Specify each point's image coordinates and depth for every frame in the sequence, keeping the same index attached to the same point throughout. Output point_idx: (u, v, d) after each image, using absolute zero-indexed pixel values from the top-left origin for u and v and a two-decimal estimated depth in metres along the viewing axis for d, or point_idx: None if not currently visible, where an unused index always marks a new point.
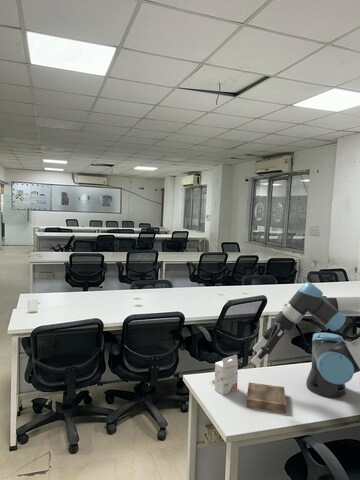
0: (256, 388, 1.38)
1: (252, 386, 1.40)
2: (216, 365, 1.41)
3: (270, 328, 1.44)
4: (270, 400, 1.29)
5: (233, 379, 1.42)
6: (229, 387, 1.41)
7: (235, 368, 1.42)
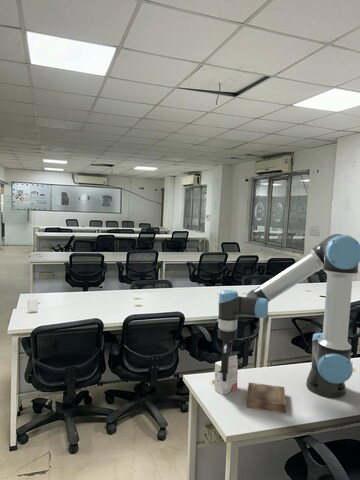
0: (256, 388, 1.38)
1: (252, 386, 1.40)
2: (216, 365, 1.41)
3: None
4: (270, 400, 1.29)
5: (233, 379, 1.42)
6: (229, 387, 1.41)
7: (235, 368, 1.42)
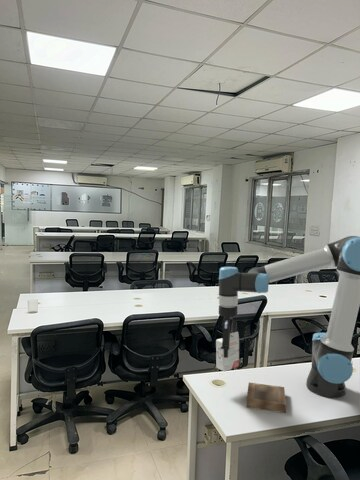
0: (256, 388, 1.38)
1: (252, 386, 1.40)
2: (217, 342, 1.40)
3: None
4: (270, 400, 1.29)
5: (235, 356, 1.41)
6: (231, 363, 1.40)
7: (236, 345, 1.41)
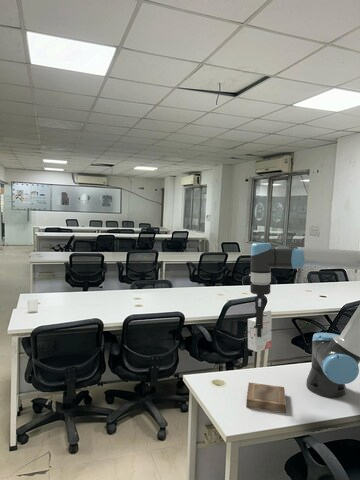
0: (256, 388, 1.38)
1: (252, 386, 1.40)
2: (249, 321, 1.34)
3: None
4: (270, 400, 1.29)
5: (267, 336, 1.35)
6: (263, 344, 1.33)
7: (269, 325, 1.35)
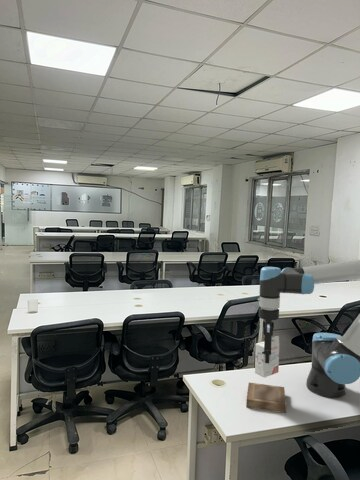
0: (256, 388, 1.38)
1: (252, 386, 1.40)
2: (257, 346, 1.33)
3: None
4: (270, 400, 1.29)
5: (275, 361, 1.33)
6: (271, 369, 1.32)
7: (276, 350, 1.34)
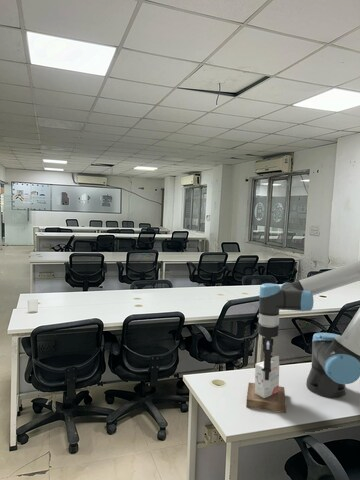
0: None
1: (252, 386, 1.40)
2: (257, 366, 1.33)
3: None
4: (270, 400, 1.29)
5: (275, 381, 1.33)
6: (271, 389, 1.32)
7: (276, 370, 1.34)
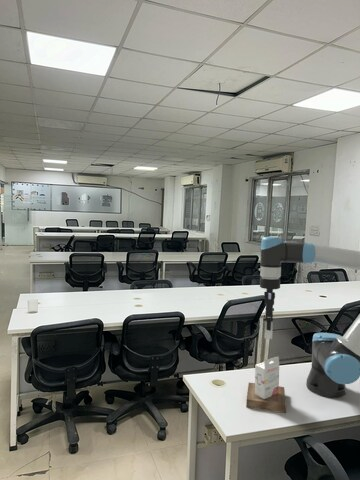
0: None
1: (252, 386, 1.40)
2: (257, 367, 1.32)
3: None
4: (270, 400, 1.29)
5: (275, 382, 1.33)
6: (271, 390, 1.32)
7: (276, 371, 1.33)
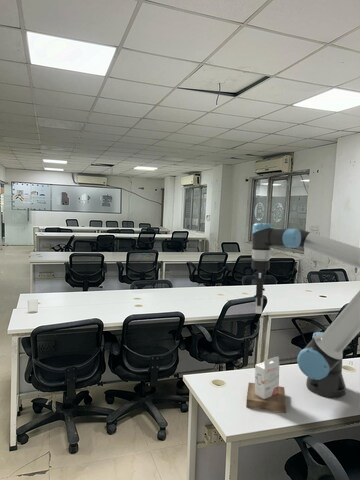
0: None
1: (252, 386, 1.40)
2: (257, 367, 1.32)
3: None
4: (270, 400, 1.29)
5: (275, 382, 1.33)
6: (271, 390, 1.32)
7: (276, 371, 1.33)
